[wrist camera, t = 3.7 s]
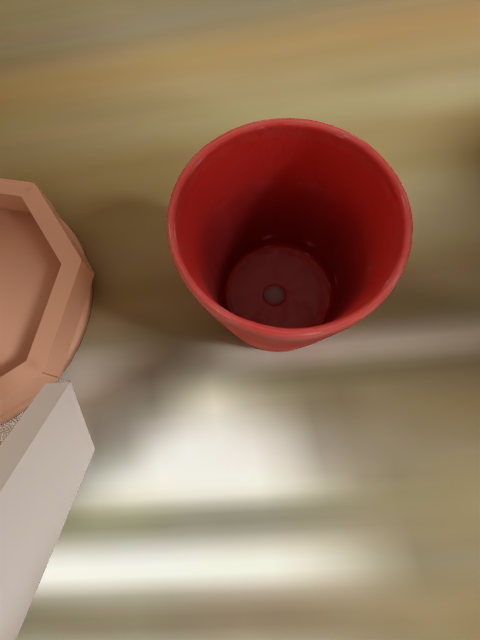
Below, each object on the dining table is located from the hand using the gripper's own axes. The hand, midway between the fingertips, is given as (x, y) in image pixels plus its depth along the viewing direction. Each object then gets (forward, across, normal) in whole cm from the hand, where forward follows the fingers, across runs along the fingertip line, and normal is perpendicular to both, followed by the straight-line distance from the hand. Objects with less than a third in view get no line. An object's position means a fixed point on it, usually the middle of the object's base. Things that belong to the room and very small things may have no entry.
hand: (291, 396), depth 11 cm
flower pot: (+14, +1, -3) cm, 14 cm away
